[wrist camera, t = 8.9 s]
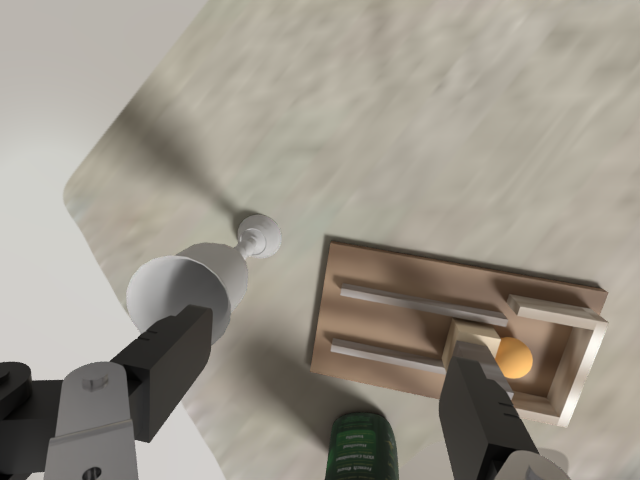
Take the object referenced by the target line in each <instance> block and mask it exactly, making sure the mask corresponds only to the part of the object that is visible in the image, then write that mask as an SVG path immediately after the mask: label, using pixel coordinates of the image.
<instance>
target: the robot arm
mask: <svg viewBox="0 0 640 480" xmlns="http://www.w3.org/2000/svg"><path fill="white" fill-rule="evenodd" d="M212 323H213V311H212V309H211V308H208V307H203V306H197V305H192V304H189V305H187V306H186V307H185V308H184V309H183V310H182V311H181V312H180V313H179V314H177V315H176V316H172V315H170V316H168V317H165V318H163V319H161V320H158V321H156V322H155V323H154V324H153V325H151V326H150V327H149V328H148V329H147V330H146V332H143V333H142V334H141V335H140V336H139V337H138V339H135V340H134V341H133V342H132V343H130V344H129V345H128V346H127V347H126V348H125V349H123V350H122V351H121V352H120V353H119V354H117V356H115V357H114V358H113V359H112V360H110V362H95V363H90V364H87V365H84V366H81V367H79V368H77V369H75V370H74V371H72V372H71V373H70V374H68V375H67V376H66V377H65V379H64V380H38V381H32V378H31V369H30V368H29V366H27V365H26V364H23V363H20V362H2V363H0V480H26V479H27V478H28V477H29V476H30V475H31V474H32V473H35V472H45V473H44V480H138V471H137V461H136V451H135V442H134V440H138V441H143V442H147V443H150V442H151V440H152V439H153V437H154V436H155V435H156V433H157V432H158V431H159V429H160V428H161V426H162V425H163V424H164V422H165V421H166V420H167V418H168V417H169V416H170V414H171V413H172V411H173V410H174V408H175V407H176V406H177V405H178V403H179V402H180V400H181V399H182V398H183V396H184V395H185V394H186V392H187V391H188V389H189V388H190V387H191V385H192V384H193V383H194V381H195V380H196V378H197V377H198V376H199V374H200V373H201V372H202V370H203V369H204V367H205V366H206V364H207V362H208V359H209V356H210V352H211V340H212ZM439 417H440V422H441V426H442V430H443V434H444V438H445V442H446V446H447V451H448V455H449V459H450V463H451V467H452V472H453V476H454V480H571V479H570V478H569V476H568V475H567V474H566V473H565V472H564V471H563V470H562V469H561V468H560V467H558V466H557V465H556V464H555V463H553V462H552V461H550V460H549V459H547V458H545V457H543V456H541V455H540V454H539V452H538V450H537V448H536V446H535V445H534V443H533V441H532V439H531V437H530V435H529V433H528V431H527V429H526V428H525V426H524V424H523V422H522V420H521V419H520V418H519V417H520V416H519V414H518V412H517V410H516V409H515V408H514V405H513V403H512V401H511V399H510V397H509V395H508V393H507V392H506V391H505V390H504V389H503V388H502V387H501V386H500V385H499V384H498V383H497V382H496V381H495V380H492V379H487V378H486V376H485V374H484V371H483V369H482V367H481V365H480V363H479V361H477V360H473V359H468V358H462V357H457V356H452V358H451V360H450V362H449V366H448V369H447V373H446V377H445V380H444V384H443V388H442V391H441V395H440V400H439Z"/></svg>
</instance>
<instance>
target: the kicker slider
mask: <svg viewBox="0 0 640 480" xmlns="http://www.w3.org/2000/svg"><path fill="white" fill-rule="evenodd" d="M500 341H501V339H500V337H499V335H498V334H497V332H496V331H495V329H494V328H493V326H492V325H491V324H485V323H480V322H475V321H470V320H464V319H459V318H454V317H453V318H452V321H451V325H450V329H449V332H448V336H447V340H446V344H445V347H444V351H443V355H442V361H443V364H444V368H445V371H446V373H447V369H448V366H449V362H450V360H451V358H452V356H457V357H462V358H468V359H473V360H477V361H479V363H480V365H481V367H482V369H483V371H484V374H485V376H486V378H487V379H492V380H495V381H496V382H497V383H498V384H499V385H500V386H501V387H502V388H503V389H504V390H505V391H506V392H507V393H508V395H509V397H510V399H511V400H512V397H513V394H514V392H513V391H512V389H511V387H510V385H509V384H508V382H507V380H506V378H505V376H504V375H503V373H502V371H501V369H500V367H499V366H498V364H497V362H496V360H495V357H496V354H497V351H498V347H499V344H500Z"/></svg>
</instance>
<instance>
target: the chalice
mask: <svg viewBox="0 0 640 480" xmlns="http://www.w3.org/2000/svg"><path fill="white" fill-rule="evenodd" d="M281 239H282V235H281V231H280V228H279V227H278V225H277V223H276V222H274V221H273V220H272V219H271V218H269V217H267V216H265V215H258V214H257V215H252V216H249V217H247V218H246V219H244V220H243V222H242V223H241V224H240V226H239V229H238V244H237V246H236V247H234V248H232V247H230V246H227V245H225V244H217V243H200V244H195V245H192V246H190V247H189V248H187V249H185V250H183V251H182V252H180V253H178V254H176V255H175V256H172V255H169V256H164V257H159V258H154V259H152V260H151V261H149V262H147V263H145V264H144V265H142V266H141V267H140V268H139V269H138V270H137V271H136V273H135V274H134V275H133V276H132V278H131V280H130V283H129V286H128V289H127V308H128V311H129V314H130V317H131V320H132V322H133V323H134V325H135V326H136V327H137V329H138V330H139V331H140V333H141V334H142V333H143V332H146V330H147V329H148V328H149V327H150V326H151V325H153V324H154V323H155V322H156V321H158V320H161V319H163V318H165V317H168V316H170V315H172V316H176V315H177V314H179V313H180V312H181V311H182V310H183V309H184V308H185V307H186V306H187V305H189V304H192V305H197V306H203V307H208V308H211V309H212V311H213V323H212V340H211V345H213V344H214V343H215V342H216V341H217V340H218V339H219V338H220V337H221V336H222V335H223V334H224V332H225V330H226V328H227V326H228V324H229V322H230V315H231V312H232V311H233V310H234V309H235V308H236V306H237V305H238V304H239V303H240V302H241V300H242V299H243V297H244V295H245V293H246V290H247V283H248V269H247V265H246V261H245V259H246V257H249V256H251V257H255V258H267V257H270V256H271V255H273V254H275V253H276V251H277V250H278V249H279V247H280V245H281Z"/></svg>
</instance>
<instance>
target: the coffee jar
mask: <svg viewBox="0 0 640 480" xmlns="http://www.w3.org/2000/svg"><path fill="white" fill-rule="evenodd" d="M398 473H399V471H398V458H397V448H396V441H395V437H394V433H393V431H392V428H391V426H390V424H389V422H388V421H387V420H386V419H385V418H383V417H381V416H379V415H377V414H372V413H360V412H359V413H351V414H347V415H344V416H341V417H340V418H338V419H337V420H336V421H335V422H334V424H333V426H332V431H331V437H330V445H329V453H328V461H327V468H326V476H325V480H399V474H398Z"/></svg>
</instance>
